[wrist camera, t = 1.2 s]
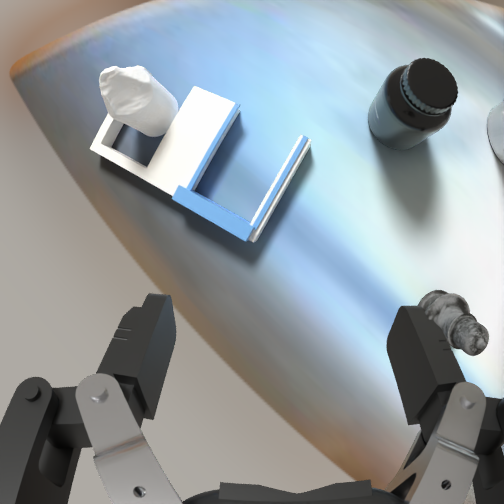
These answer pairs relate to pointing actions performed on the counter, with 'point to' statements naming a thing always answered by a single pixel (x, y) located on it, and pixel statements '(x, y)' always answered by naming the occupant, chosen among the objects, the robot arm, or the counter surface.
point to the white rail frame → (199, 160)
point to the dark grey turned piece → (455, 321)
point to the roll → (138, 100)
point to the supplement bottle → (412, 104)
